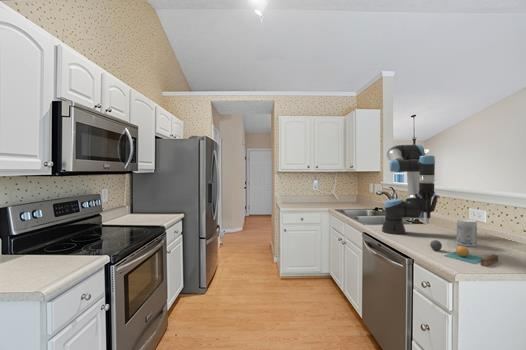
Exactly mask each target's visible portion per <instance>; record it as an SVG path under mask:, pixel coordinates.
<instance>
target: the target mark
mask: <svg viewBox="0 0 526 350" xmlns="http://www.w3.org/2000/svg"><path fill="white" fill-rule="evenodd" d="M443 257H446V258H447V257H448V258H449V259H454V260H459V261H461V262H466V263H470V264H473V265H476V264H479V263H481V259H482V258H485V257H483V256H480V255H479V256H478V255H474V254H472V253H469V254H468V255H467V256H466V257H461V256H459V255H458V254H457V253H456V251H453V252H451V253H450V252H449V253H447V254H444V255H443Z"/></svg>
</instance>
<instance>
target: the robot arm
mask: <svg viewBox="0 0 526 350" xmlns="http://www.w3.org/2000/svg"><path fill="white" fill-rule="evenodd" d="M386 157H387V160H388V161H389V171H390V173H391V172H392V173H393V172H394V173H406V178H407V181H406V182H407V197H406V198H405V201H404V200H403V198H391V199H387V200H386V201H384V221H383V225H382V227H381V232H383V233H385V234H391V235H404V234H406V228H405V224H404V222H403V221H404V220H403V219H404V218H405V219H416V220H417V219H421V220H422V219H423V224H425V225H428V224H430V219H431V213H433V212H435V210H436V206H437V202H438V200H439V198H440V195H438V194H436V192H435V182H436V181H435V180H436V179H435V173H436V172H435V169H436V168H435V167H436V165H435V164H436V157H435V155H426V151H425V148H424V146H423V145H422V144H399V145H394V146H392V147H390V148H389V149H388V151H387V152H386Z"/></svg>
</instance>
